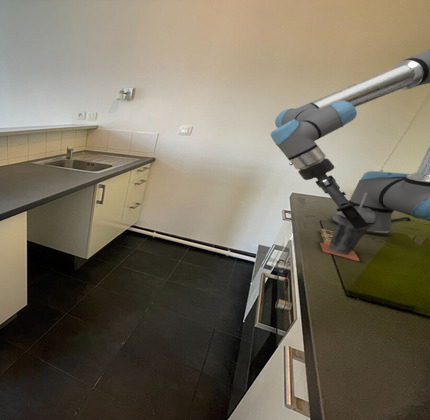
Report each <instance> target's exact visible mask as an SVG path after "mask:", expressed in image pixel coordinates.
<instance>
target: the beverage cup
mask: <svg viewBox="0 0 430 420" xmlns="http://www.w3.org/2000/svg"><path fill="white" fill-rule="evenodd" d="M367 194H368V193H365V194H364V196H363V199H362V201H361V204H360V206H354V208H355V209H356V210H357V211H358V213H359V214H360V215H361V216H362V218H363V219H364V220H365V221H366V223H367V224H368V225H369V226H366V227H362V228H359V229H355V228H354V227H353V226H352V224H351V223H350V222H349V220H348V219H347V218H346V217H345V215H344V214H343V213H341V214H340V215H339V216H340V217H339V220H338V224H336V227H335V230H334V231H333V232H334V235H333V237H332V240H331V242H330V247H329V249H330V250H331V251H333V252H336V253H339V254H344V255H348V254H349V253H350V252H351V251H353V250H354V248H355V247H357V244H358V243H359V242H360V241H361V239H362V238H363V236H364V235H365V234H366V233H365V232H366V231H367V230H368V229H369V228H370V227H371V226H372V225H373V224H375V220H376V216H375V213H374V212H373V211H372V210H371V209H369V208H367V207H362V206H363V203H364V201H365V198H366V196H367Z"/></svg>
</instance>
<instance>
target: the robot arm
mask: <svg viewBox="0 0 430 420" xmlns="http://www.w3.org/2000/svg"><path fill="white" fill-rule="evenodd" d="M427 84H430V48H429V49H427V50H423V51H422V52H420V53H417V54H415V55H412V56H410V57H408V58H405V59H403V60H401V61H398V62H396V63H395V64H393V65H392V66H391V67H390V69H387V70H385V71H383V72H380V73H378V74H375V75H373V76H371V77H367V78H365V79H363V80H361V81H359V82H356V83H354V84H351V85H349V86H346V87H345V88H342V89H339V90H338V91H335V92H332V93H330V94H328V95H326V96H322V97H320V98H318V99H316V100H313V101H311V102H308V103H306V104H304V105H301V106H298V107H296V108H288V109H284V110H282V111H280V113H278V114H277V115H276V118H275V120H274V124H275V127H276V129H274V130H272V131H271V132H270V137H271V139H272V141H273V142H274V144H275V145H276V147H278V148H279V150H280V151H281V152H282V153H283V154H284V156H285V157H286V159H287V160H288V161H289V163H288V165H289V166H293V167H294V169H295V170H298V171H297V173H298V174H299V175H300V176H301V178H302V179H303V180H304V181H310V180H313V179H316V181H315V184H316V185H317V186H318V187H319V188H320V189H321V190H322V191H323V192H324V194H328V195H329V197H330V198H331V199H332V202H334V203H335V204H336V206H337V207H338V208H335V210H336V211H337V212H336V214H334V216H333V217H332V219H331V221H332V223H334V224H336V225H338V220H339V217H340V216H339V215H340V214H341V213H343V214H344V215H345V217H346V218H347V219H348V220H349V222H350V223H351V224H352V226H353V227H354V228H355V229H359V228H362V227H366V226H369V225H368V224H367V223H366V221H365V220H364V219H363V218H362V216H361V215H360V214H359V213H358V211H357V210H356V209H355V208H354V206H360V204H361V201H362V199H363V196H364V194H365V193H368V194H367V196H366V198H365V201H364V203H363V206H362V207H367V208H369V209H371V210H372V211H373V212H374V213H375V216H376V220H375V224H373V225H372V226H371V227H370V228H369V229H368V230H367V231H366V232H365V234H370V235H375V236H376V235H377V236H387V235H388V234H389V233H390V231H391V229H392V222H396V221H397V222H398V221H403V220H407V222H408V221H409V222H410V221H412V219H411V218H410V217H409V216H411V217H412V218H414V219H415V218H416V219H419V220H420V219H421V220H425V221H428V222H430V142H429V143H428V145H427V147H426V150H425V152H424V154H423V156H422V159H420V160H421V161H420V163H419V165H418V167H417V168H416V171H415V172H412V173H403V172H390V171H377V170H376V171H375V170H369V171H366V172H364V173H363V175H362V176H361V178H359V180H358V182H357V185H356V186H355V188H354V190H353V192H352V195H351V196H350V198H349V200H348V199H347V197H346V195H347V193H346V192H345V191H341V190H340V189H341V187H340V185H339V184H338V183H337V180H336V179H335V178H334V176H332V175H331V174H330V175H327V173H329V172H331V171H332V170H334V169H335V165H334V164H333V163H332V161H331V160H330V159H329V158H326V156H327V154H325V152H324V151H323V150H322V148H321V147H320V146H319V145H318V144H317V143H316V141H318V140H320V139H321V138H323V137H325V136H327V135H329V134H331V133H333V132H335V131H337V130H338V129H340V128H343V127H344V126H346V125H347V124H349V123H351V122H352V121H354V120H355V119H356V118H357V114H358V112H357V110H356V108H357V107H360V106H362V105H364V104H367V103H369V102H372V101H375V100H378V99H380V98H382V97H385V96H388V95H390V94H392V93H395V92H398V91H406V90H411V89H413V88H416V87H418V86H423V85H427ZM394 211H395V212H398V213H401V214H404V215H408V216H403V217H400V218H392V214H393V213H394Z"/></svg>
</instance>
